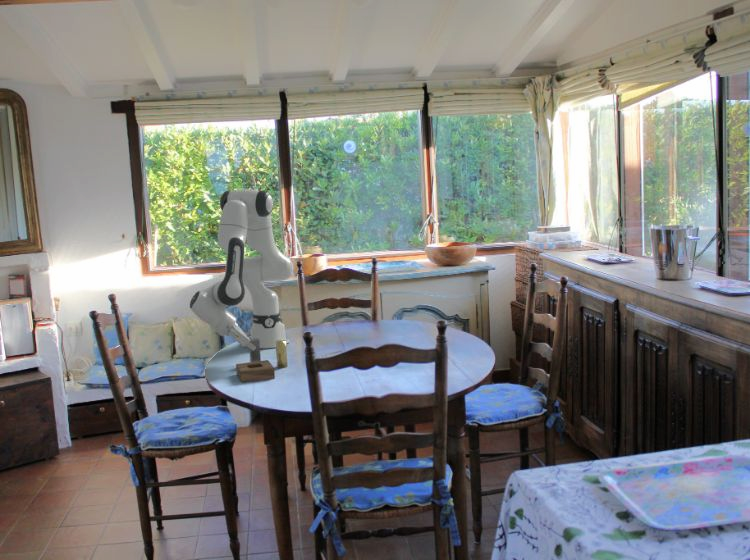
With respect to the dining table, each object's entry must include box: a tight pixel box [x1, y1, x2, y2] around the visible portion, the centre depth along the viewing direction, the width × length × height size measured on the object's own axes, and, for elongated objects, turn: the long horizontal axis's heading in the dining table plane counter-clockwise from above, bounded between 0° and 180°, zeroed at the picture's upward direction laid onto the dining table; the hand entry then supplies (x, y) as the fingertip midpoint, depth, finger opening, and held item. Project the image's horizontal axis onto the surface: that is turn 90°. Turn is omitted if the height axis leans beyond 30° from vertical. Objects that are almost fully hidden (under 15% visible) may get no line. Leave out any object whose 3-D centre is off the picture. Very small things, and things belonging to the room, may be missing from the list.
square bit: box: [248, 338, 262, 362], centre depth 282 cm, size 4×4×10 cm
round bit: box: [275, 340, 289, 369], centre depth 278 cm, size 4×4×10 cm
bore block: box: [235, 359, 276, 383], centre depth 266 cm, size 12×12×4 cm
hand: (252, 346), depth 282 cm, fingers open, 8 cm apart
